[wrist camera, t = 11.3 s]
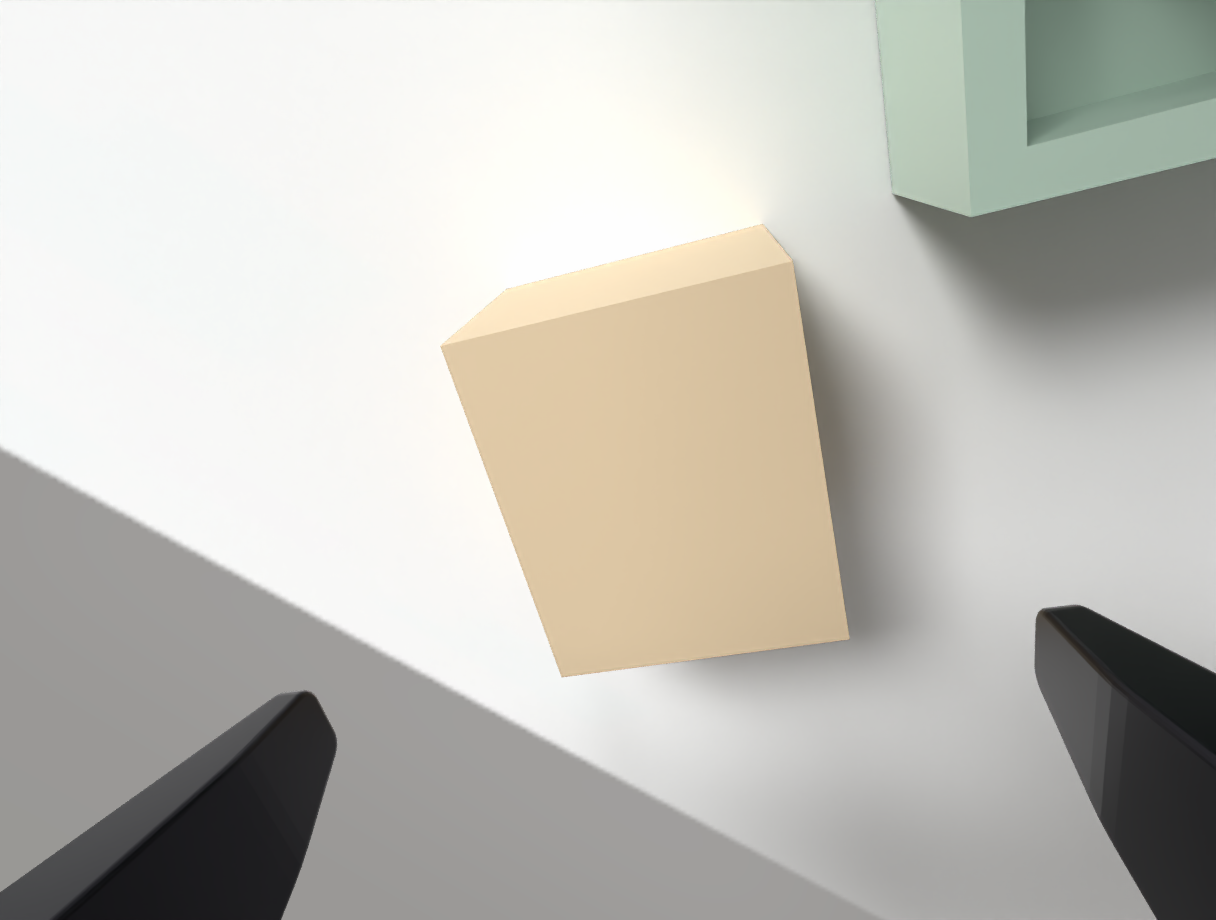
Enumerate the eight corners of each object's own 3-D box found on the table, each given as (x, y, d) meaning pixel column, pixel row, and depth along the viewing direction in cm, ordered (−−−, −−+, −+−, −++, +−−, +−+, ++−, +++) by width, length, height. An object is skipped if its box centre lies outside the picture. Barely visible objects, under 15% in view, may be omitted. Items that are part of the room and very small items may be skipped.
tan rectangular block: (508, 287, 16) (440, 345, 12) (761, 222, 15) (792, 261, 11) (591, 550, 19) (561, 677, 15) (809, 514, 18) (849, 639, 14)
